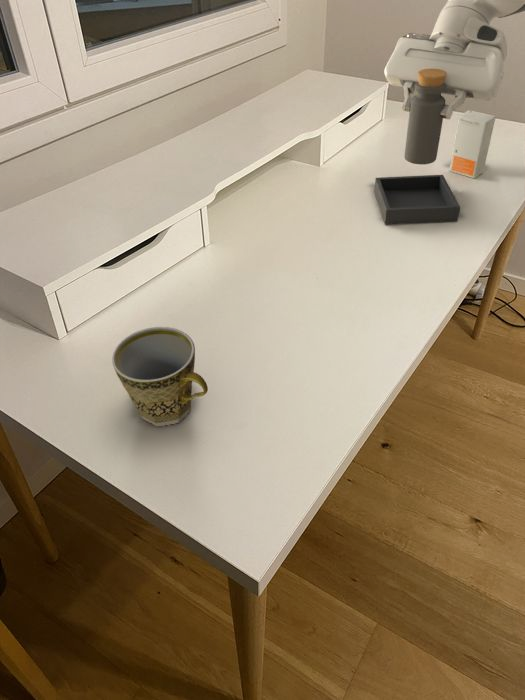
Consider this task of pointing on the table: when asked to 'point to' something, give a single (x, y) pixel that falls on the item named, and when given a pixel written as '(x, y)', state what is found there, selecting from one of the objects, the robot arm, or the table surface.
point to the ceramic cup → (158, 373)
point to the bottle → (425, 117)
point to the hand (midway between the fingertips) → (425, 113)
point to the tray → (416, 200)
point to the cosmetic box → (472, 143)
